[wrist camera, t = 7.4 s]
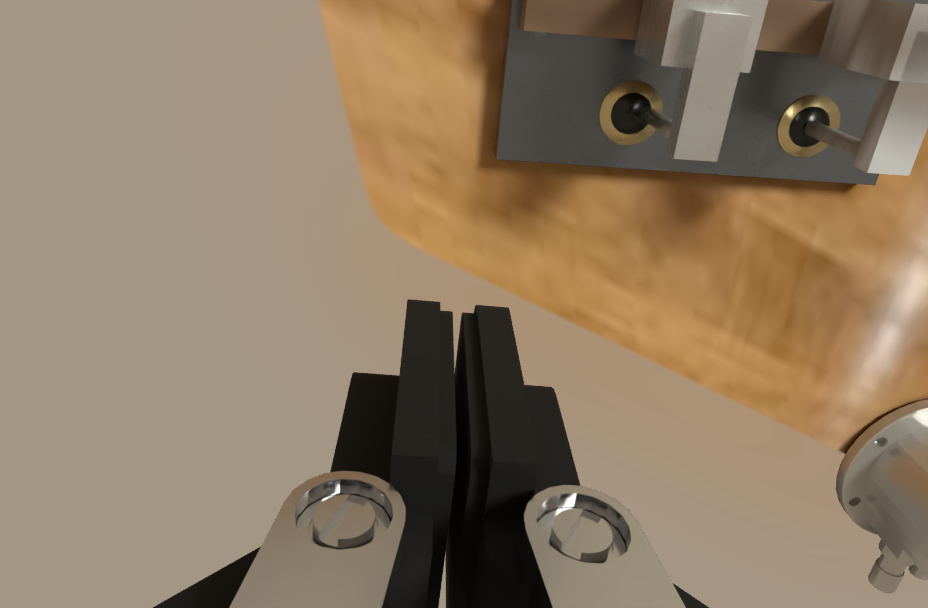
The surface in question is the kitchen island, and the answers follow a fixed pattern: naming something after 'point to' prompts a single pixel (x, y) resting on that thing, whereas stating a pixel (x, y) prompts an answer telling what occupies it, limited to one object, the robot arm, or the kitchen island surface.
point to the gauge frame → (817, 33)
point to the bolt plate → (656, 87)
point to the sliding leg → (699, 65)
